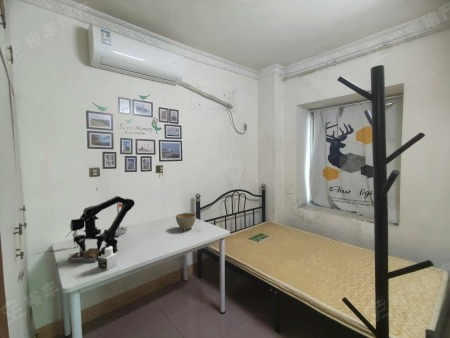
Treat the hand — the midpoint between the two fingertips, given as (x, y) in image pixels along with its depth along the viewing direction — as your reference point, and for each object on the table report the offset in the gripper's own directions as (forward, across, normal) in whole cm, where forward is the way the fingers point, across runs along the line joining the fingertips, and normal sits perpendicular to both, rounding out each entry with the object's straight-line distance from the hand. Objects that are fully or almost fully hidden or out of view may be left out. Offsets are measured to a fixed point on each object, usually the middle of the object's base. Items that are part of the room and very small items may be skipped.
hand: (91, 250), depth 142 cm
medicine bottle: (+5, -16, +13) cm, 21 cm away
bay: (+5, +4, -3) cm, 7 cm away
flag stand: (+5, +3, -44) cm, 45 cm away
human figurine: (+5, +23, -19) cm, 30 cm away
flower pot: (+6, -52, -56) cm, 77 cm away
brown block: (+5, 0, 0) cm, 5 cm away
